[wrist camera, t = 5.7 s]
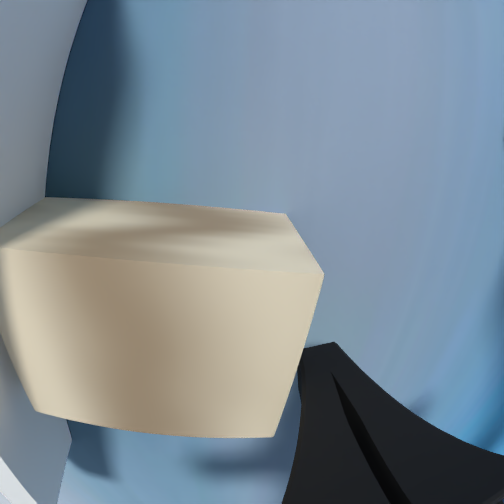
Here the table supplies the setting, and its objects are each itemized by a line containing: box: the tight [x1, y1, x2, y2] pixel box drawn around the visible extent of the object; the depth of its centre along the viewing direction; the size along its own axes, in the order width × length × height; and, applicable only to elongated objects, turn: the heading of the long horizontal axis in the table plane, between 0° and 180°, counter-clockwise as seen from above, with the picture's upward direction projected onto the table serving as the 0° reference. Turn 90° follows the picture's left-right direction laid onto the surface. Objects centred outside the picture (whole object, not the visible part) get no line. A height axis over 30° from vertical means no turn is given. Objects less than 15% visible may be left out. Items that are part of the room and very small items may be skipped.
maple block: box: [0, 197, 324, 438], centre depth 9 cm, size 8×6×4 cm
